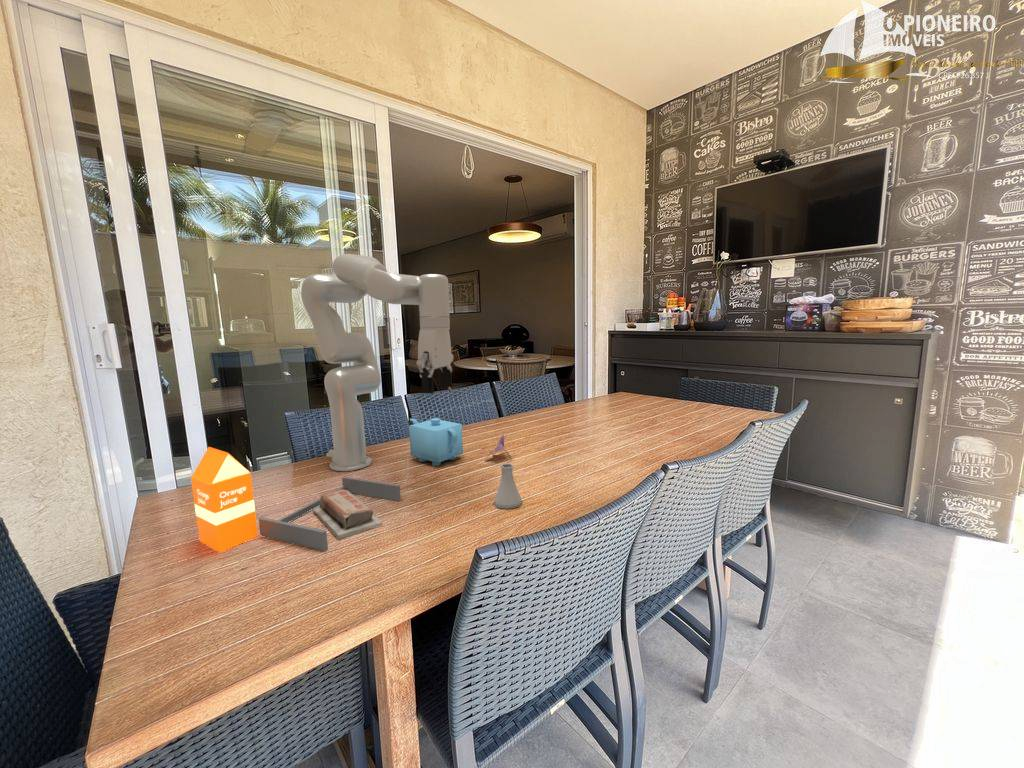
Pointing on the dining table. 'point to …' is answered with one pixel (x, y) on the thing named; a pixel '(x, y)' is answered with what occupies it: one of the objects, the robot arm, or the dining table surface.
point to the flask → (507, 489)
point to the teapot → (435, 440)
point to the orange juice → (223, 501)
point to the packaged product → (345, 514)
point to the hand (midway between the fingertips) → (437, 389)
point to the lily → (500, 445)
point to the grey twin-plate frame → (312, 535)
